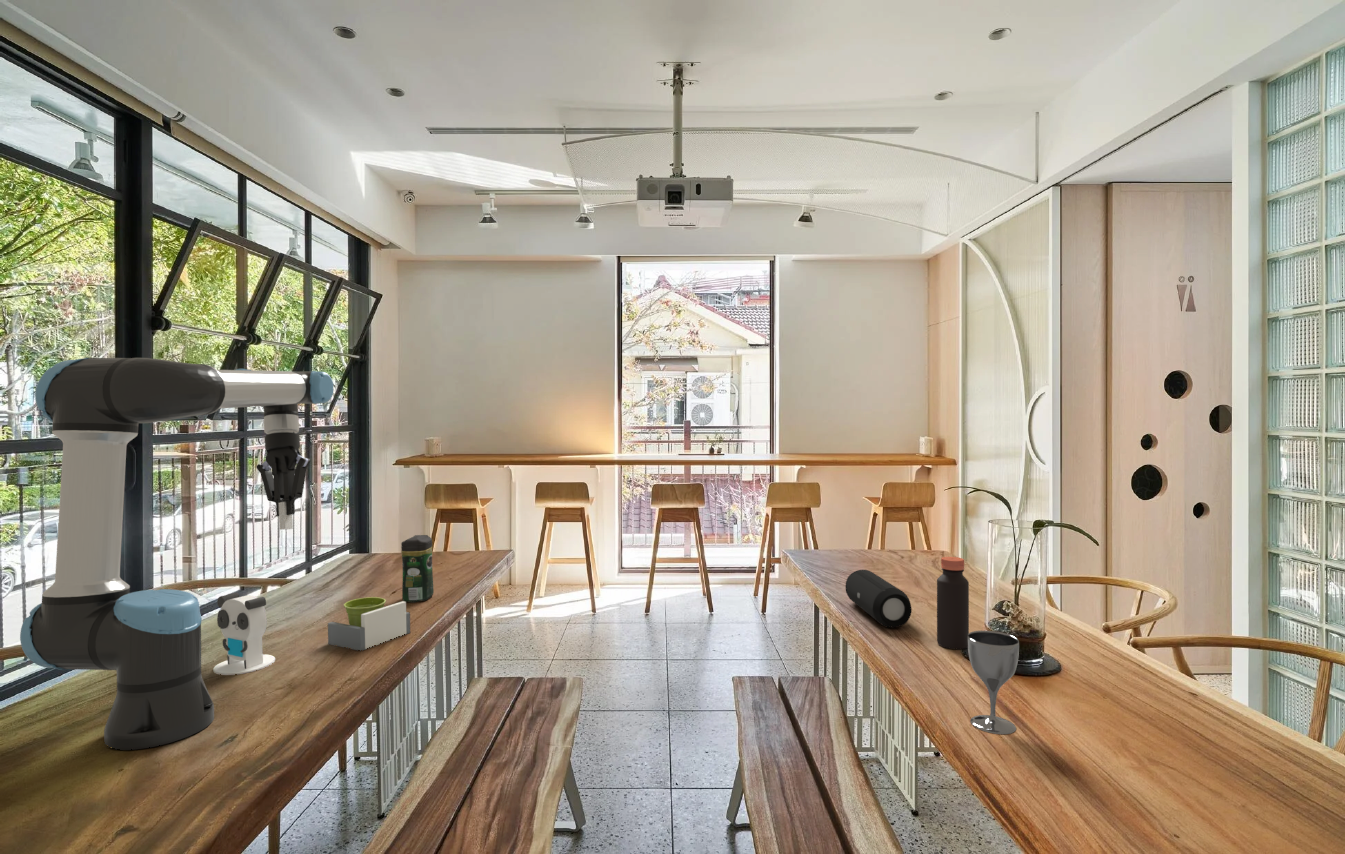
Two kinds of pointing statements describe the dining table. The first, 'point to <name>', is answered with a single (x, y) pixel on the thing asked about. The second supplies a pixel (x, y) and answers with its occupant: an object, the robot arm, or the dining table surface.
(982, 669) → the wine glass
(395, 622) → the box
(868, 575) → the portable speaker
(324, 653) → the dining table surface
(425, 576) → the coffee jar
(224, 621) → the panda figurine
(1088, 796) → the dining table surface
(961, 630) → the bottle
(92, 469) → the robot arm
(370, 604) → the plant pot
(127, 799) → the dining table surface
